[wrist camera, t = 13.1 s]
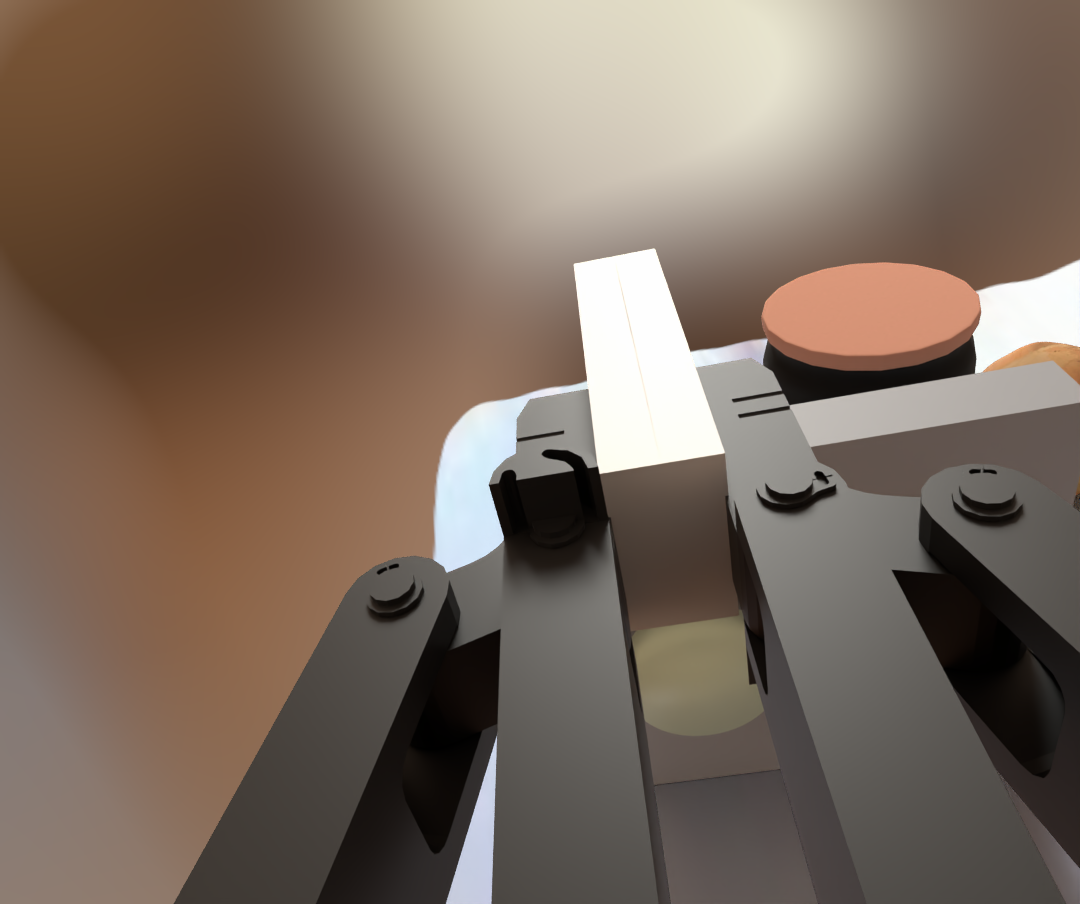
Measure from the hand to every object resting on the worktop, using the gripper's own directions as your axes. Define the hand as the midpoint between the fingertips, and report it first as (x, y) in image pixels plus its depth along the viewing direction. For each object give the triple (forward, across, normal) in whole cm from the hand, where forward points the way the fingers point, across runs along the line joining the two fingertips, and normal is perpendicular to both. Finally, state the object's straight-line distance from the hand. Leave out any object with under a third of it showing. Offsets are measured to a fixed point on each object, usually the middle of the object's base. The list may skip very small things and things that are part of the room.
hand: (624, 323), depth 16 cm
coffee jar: (+25, +13, -32) cm, 43 cm away
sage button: (+12, +1, -24) cm, 27 cm away
